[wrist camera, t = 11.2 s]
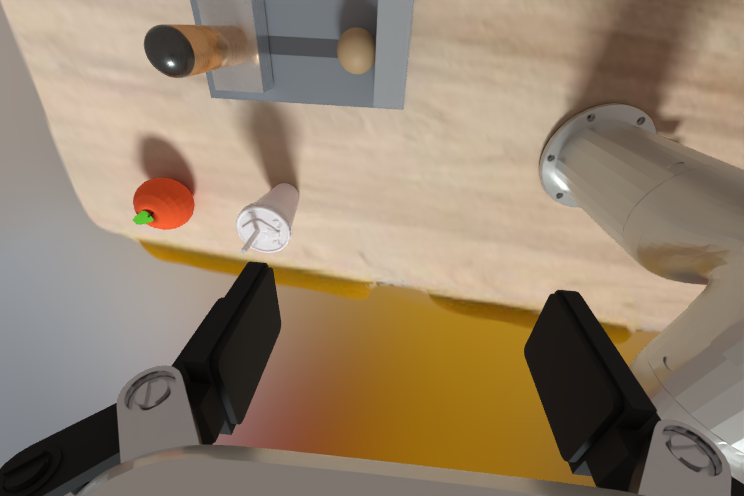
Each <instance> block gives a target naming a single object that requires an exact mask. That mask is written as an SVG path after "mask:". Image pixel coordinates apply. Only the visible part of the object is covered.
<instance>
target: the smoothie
mask: <svg viewBox="0 0 744 496" xmlns="http://www.w3.org/2000/svg"><path fill="white" fill-rule="evenodd" d="M298 202H299V193H298V191H297V189H296V188H295V187H294V186H292V185H290V184H287V183H281V184H278V185H277V186H275V187H274V188H273V189H272V190H270V191H269V192H268V193H267V194H265V195H264V196H263V197H262V198H260V199H259V200H258V201H257V202H255V203H253V204H250V205H248V206H246V207H245V208H244V209H243V210H242V211H241V213H240V214H239V215H238V217H237V220H236V229H237V232H238V234H239V236H240V238H241V239H242V240H243V241H244V242H245V243H246V244H245V245H244V247H243V248H242V249H241V252H242V253H243V254H245V253H246V252H247V250H248V249H249V247H251V248H253V249H255V250H257V251H260V252H265V253H273V252H277V251H280V250H282V249H283V248H284V247H285V246H286V245H287V244H288V242H289V241H290V239H291V237H292V223H293V220H294V216H295V213H296V209H297V205H298Z"/></svg>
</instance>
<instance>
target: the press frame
mask: <svg viewBox="0 0 744 496" xmlns="http://www.w3.org/2000/svg"><path fill="white" fill-rule="evenodd" d="M190 1H191V6H192V11H193V15H194V20H195V24H196V25H202V23H201V18H200V13H199V8H198V3H197V0H190ZM413 2H414V0H264V6H265V15H266V23H267V32H268V41H269V50H270V58H271V67H272V76H273V85H274V88H273V89H271V90H269V91H267V92H264V93H256V92H239V91H223V90H215V85H214V80H213V76H212V71H209V72H206V75H207V80H208V84H209V89H210V94H211V98H223V99H240V100H256V101H272V102H288V103H305V104H321V105H337V106H354V107H370V108H386V109H403V108H404V98H405V87H406V76H407V66H408V55H409V44H410V34H411V23H412V13H413Z"/></svg>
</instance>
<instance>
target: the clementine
mask: <svg viewBox="0 0 744 496" xmlns="http://www.w3.org/2000/svg"><path fill="white" fill-rule="evenodd" d="M133 204H134V209H135V212H136V214H137V216H135V218H134V219H133V221H134V222H135V223H136V224H148V225H149V226H152V227H154V228H158V229H164V230H165V229H174V228H177V227H180V226H182V225H183V224H185V223H186V222H188V220H189V219H190V218H191V216H192V214H193V211H194V199H193V197H192V194H191V193H190V191H189V190H188V189H187V188H186V187H185V186H184V185H183V184H181V183H180V182H178V181H176V180H173V179H170V178H154V179H151V180H148V181H146V182H144V183H143V184H142V185H141V186H140V187H139V188H137V190H136V192H135V195H134V198H133Z"/></svg>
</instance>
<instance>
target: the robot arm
mask: <svg viewBox="0 0 744 496" xmlns="http://www.w3.org/2000/svg"><path fill="white" fill-rule="evenodd" d="M588 116H589V117H588ZM587 117H588V118H587ZM549 155H550V157H548V156H549ZM539 177H540V181H541V184H542V186H543V188H544V190H545V191H546V192H547V194H548V195H549V196H550V197H551V198H552V199H553V200H555V201H556V202H558V203H560V204H562V205H566V206H570V207H579V208H582V209H583V210H584V211H585V212H586V213H587V214H588V215H589V216H590V217H591V218H592V219H593V220H594V221H595V222H596V223H597V224H598V225H599V226H600V227H601V228H602V229H603V230H604V231H605V232H606V233H607V234H608V235H609V236H610V237H611V238H612V239H614V240H615V241H616V242H617V243H618V244H619V245H620V246H621V247H622V248H623V249H624V250H625V251H626V252H627V253H628V254H629V255H630V256H631V257H632V258H633V259H634V260H635V261H636V262H638V263H639V264H640V265H641V266H642V267H643V268H645V269H646V270H648V271H650V272H651V273H653V274H655V275H658V276H660V277H663V278H665V279H669V280H673V281H678V282H683V283H691V284H702V285H707V286H706V288H705V289H704V291H703V292H702V293H701V294H700V295H699V296H698V297H697V298H696V299H695V300H694V301H693V302H692V303H691V304H690V305H689V306H688V308H687V309H686V310H685V311H684V312H683V313H682V314H680V315H679V316H678V317H677V318H676V319H675V320H674V321H673V322H672V323H671V324H670V325H668V326H667V327H666V328H665V329H664V330H663V331H662V332H661V333H660V334H659V335H658V336H656V337H655V338H654V339H653V340H652V341H651V342H650V343H649V344H648V345H647V346H646V347H645V348H644V349H642V351H641V352H640V353H639V354H638V355H637V356H636V357H635V358H634V359H633V361H632V362H631V364H630V366H629V367H628V365H627V364H626V363H625V361H624V359H623V358H622V356H621V355H620V353H619V352H618V350H617V349H616V347H615V346H614V344H613V343H612V341H611V340H610V338H609V337H608V335H607V334H606V332H605V331H604V329H603V328H602V326H601V325H600V323H599V322H598V320H597V319H596V317H595V316H594V314H593V313H592V311H591V310H590V308H589V307H588V305H587V304H586V302H585V301H584V299H583V298H582V296H581V295H580V294H579V292H576V291H566V290H557V291H556V292H555V293H554V294H550V296H549V297H548V299H547V301H546V303H545V305H544V308H543V310H542V312H541V314H540V316H539V318H538V320H537V322H536V324H535V326H534V328H533V330H532V333H531V335H530V337H529V339H528V341H527V343H526V345H525V348H524V355H525V359H526V361H527V364H528V367H529V369H530V372H531V375H532V378H533V380H534V383H535V386H536V388H537V391H538V394H539V396H540V399H541V402H542V405H543V407H544V410H545V413H546V415H547V418H548V421H549V424H550V427H551V429H552V432H553V435H554V437H555V440H556V443H557V446H558V448H559V451H560V454H561V456H562V458H563V459H564V460H565V461H567V462H568V463H569V466H570V468H571V471H572V473H573V474H577V475H587V476H592V477H593V480H594V482H595V484H596V487H590V486H583V485H575V484H568V483H561V482H553V481H545V480H537V479H528V478H520V477H512V476H504V475H495V474H487V473H479V472H470V471H462V470H452V469H445V468H435V467H427V466H419V465H409V464H401V463H393V462H383V461H374V460H366V459H358V458H349V457H339V456H330V455H321V454H312V453H303V452H294V451H285V450H274V449H262V448H251V447H241V446H227V445H226V446H225V445H212V444H213V443H214V442H216V440H217V438H218V435H219V433H220V434H228V435H232V433H233V430H234V428H235V426H236V424H241V423H242V421H243V419H244V417H245V415H246V412H247V410H248V407H249V405H250V402H251V400H252V398H253V395H254V393H255V391H256V388H257V386H258V383H259V381H260V379H261V376H262V374H263V371H264V369H265V367H266V364H267V362H268V359H269V357H270V354H271V352H272V350H273V347H274V345H275V342H276V339H277V337H278V335H279V333H280V329H281V318H280V311H279V305H278V298H277V292H276V286H275V279H274V273H273V269H272V268H268V265H267V263H260V262H248V263H247V265H246V266H245V268H244V269H243V271H242V272H241V274H240V275H239V277H238V278H237V280H236V281H235V282H234V284H233V286H232V287H231V289H230V290H229V292H228V293H227V294H226V296H225V297H224V298H220V299H218V301H217V302H216V303H215V304H214V306H213V307H212V308H211V310H210V311H209V313H208V314H207V316H206V317H205V319H204V320H203V321H202V323H201V324H200V326H199V327H198V329H197V330H196V331H195V333H194V334H193V336H192V337H191V339H190V340H189V342H188V343H187V345H186V346H185V347H184V349H183V350H182V352H181V353H180V355H179V356H178V357H177V359H176V361H175V362H174V363H173V365H172V366H157V367H153V368H150V369H147V370H145V371H143V372H141V373H139V374H138V375H136V376H135V377H134V378H132V379H131V380H130V381H129V382H128V383H127V384H126V385H125V386H124V387H123V389H122V390H121V392H120V394H119V396H118V399H117V403H115V404H113V405H111V406H109V407H107V408H106V409H104V410H102V411H99V412H98V413H95V414H94V415H91V416H89V417H88V418H85V419H83V420H81V421H80V422H77V423H75V424H73V425H71V426H69V427H67V428H65V429H63V430H61V431H59V432H57V433H55V434H53V435H51V436H49V437H47V438H45V439H43V440H41V441H39V442H37V443H35V444H33V445H31V446H30V447H28V448H26V449H24V450H23V451H21V452H19V453H18V454H16V455H15V456H14V457H13V458H11V459H10V460H9V461H8V462H6V463H5V464H4V465H3V466H2V467H1V469H0V496H744V170H743V169H740V168H737V167H735V166H733V165H730V164H728V163H725V162H723V161H720V160H718V159H715V158H713V157H711V156H708V155H706V154H703V153H701V152H698V151H696V150H694V149H691V148H689V147H686V146H684V145H681V144H679V143H676V142H674V141H672V140H669V139H667V138H664V137H662V136H659V135H657V132H656V129H655V125H654V123H653V122H652V120H651V119H650V117H649V116H648V115H647V114H646V113H644V112H643V111H642V110H640V109H637V108H635V107H633V106H629V105H626V104H617V103H610V104H603V105H598V106H595V107H592V108H589V109H587V110H585V111H583V112H581V113H578V114H577V115H575V116H574V117H572V118H571V119H569V120H568V121H567V122H566V123H564V124H563V125H562V126H561V127H560V128H559V129H558V130H557V131H556V132H555V134H554V135H553V136H552V137H551V138H550V140H549V142H548V143H547V145H546V147H545V148H544V151H543V154H542V156H541V160H540V165H539Z"/></svg>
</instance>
